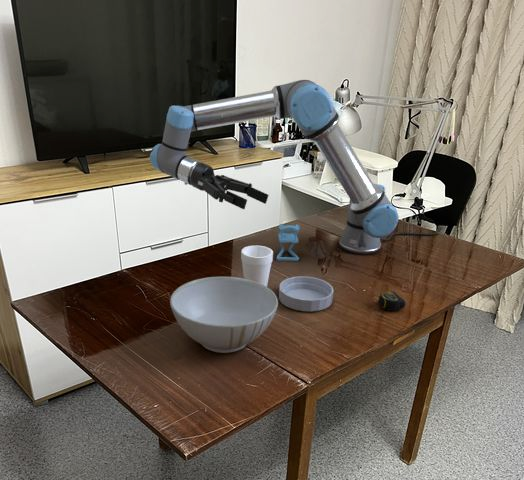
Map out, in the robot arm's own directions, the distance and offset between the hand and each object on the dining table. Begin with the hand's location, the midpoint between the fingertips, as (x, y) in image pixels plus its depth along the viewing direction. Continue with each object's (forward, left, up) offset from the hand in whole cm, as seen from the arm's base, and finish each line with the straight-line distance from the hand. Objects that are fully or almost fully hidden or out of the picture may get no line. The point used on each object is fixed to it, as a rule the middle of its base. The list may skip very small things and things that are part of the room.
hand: (256, 201), depth 158 cm
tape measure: (-28, +33, -26) cm, 50 cm away
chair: (-23, -13, -26) cm, 37 cm away
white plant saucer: (-8, +17, -26) cm, 32 cm away
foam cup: (+2, +5, -26) cm, 27 cm away
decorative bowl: (+25, +25, -26) cm, 44 cm away
